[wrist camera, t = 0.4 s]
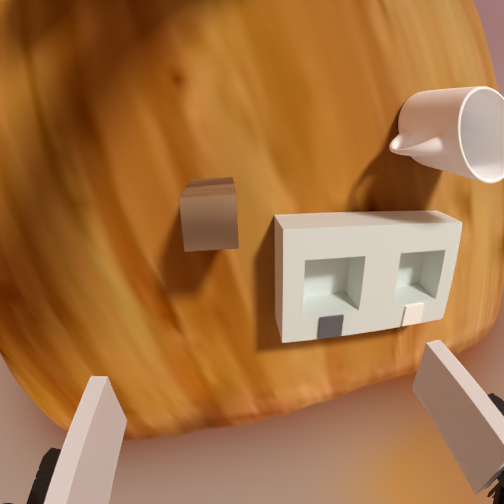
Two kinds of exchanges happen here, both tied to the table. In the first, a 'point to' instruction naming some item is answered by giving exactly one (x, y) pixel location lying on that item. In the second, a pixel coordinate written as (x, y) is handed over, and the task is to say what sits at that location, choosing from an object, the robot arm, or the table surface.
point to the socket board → (361, 271)
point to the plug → (209, 215)
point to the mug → (454, 132)
